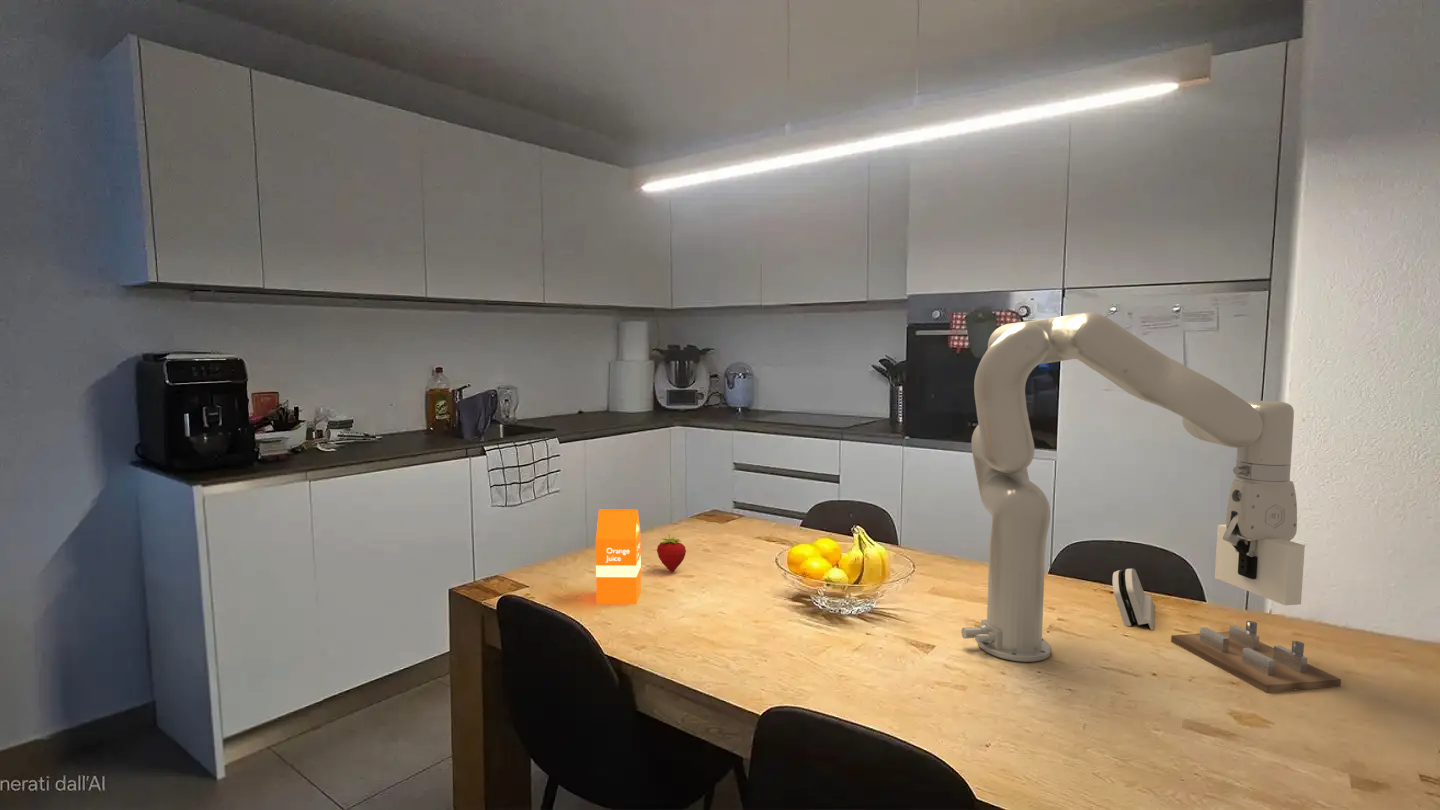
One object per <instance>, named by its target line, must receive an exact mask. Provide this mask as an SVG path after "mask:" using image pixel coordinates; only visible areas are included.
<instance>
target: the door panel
mask: <svg viewBox="0 0 1440 810" xmlns="http://www.w3.org/2000/svg"><path fill="white" fill-rule="evenodd" d="M1226 530H1227V529H1226V523H1225V524H1217V534H1216V535H1217V536H1216V551H1215V552H1216V553H1215V569H1214V579H1217V580H1218V581H1222V582H1224V583H1225V584H1230V585H1232V586H1234V587H1237V588H1239V589H1242V590H1245V591H1247V592H1250V593H1251V594H1252V593H1253V594H1255V595H1257V596H1260V597H1262V598H1265V599H1268V600H1271V601H1273V602H1275V603H1278V604H1281V605H1283V606H1295V605H1301V604H1302V595H1303V580H1304V579H1303V578H1304V563H1305V551H1306V550H1305V549H1306V548H1305V547H1306V545H1305V544H1301V543H1298V542H1294V541H1292V540H1290V541H1288V540H1285V539H1281V538H1278V539H1265V540H1260V541H1257V543H1256V550H1255V555H1254V556H1256V557H1258V558H1257V575H1256V579H1250V578H1247V577H1244V576H1242V575H1239V574H1238V559H1239V553H1238V552H1236V550H1235V548H1234V547H1233V545H1232V544H1230V543H1228V542H1226V541H1225V540H1223V535H1224V534H1225V532H1226ZM1245 543H1246V545H1247V544H1248V541H1246V540H1245Z"/></svg>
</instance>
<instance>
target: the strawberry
mask: <svg viewBox="0 0 1440 810" xmlns="http://www.w3.org/2000/svg"><path fill="white" fill-rule="evenodd" d="M668 537H669V538H663V541H660V542H659V544H658V545H657V548H656V552H657V556H658V558H659V560H660V561H661V563H662V564H663V565H664V566H665V567H666V569H667V571H669V572H670V571H671V573H673V572H675V571H676V569H677V568H678V567H679V566H680V565H681V563H682V562H683V561H684V559H685V557H686V553H687V550H686V546H685V545H684V544H683V543H681V539H680V538H675V537H671V538H670V535H668Z"/></svg>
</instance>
